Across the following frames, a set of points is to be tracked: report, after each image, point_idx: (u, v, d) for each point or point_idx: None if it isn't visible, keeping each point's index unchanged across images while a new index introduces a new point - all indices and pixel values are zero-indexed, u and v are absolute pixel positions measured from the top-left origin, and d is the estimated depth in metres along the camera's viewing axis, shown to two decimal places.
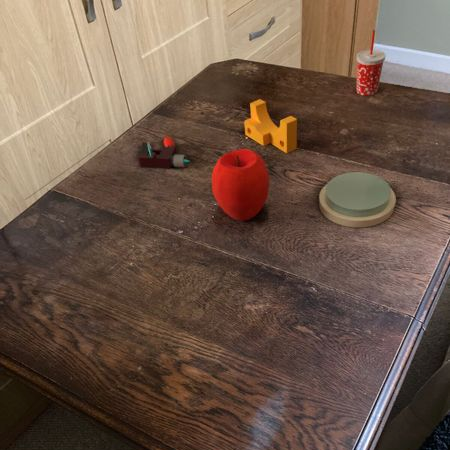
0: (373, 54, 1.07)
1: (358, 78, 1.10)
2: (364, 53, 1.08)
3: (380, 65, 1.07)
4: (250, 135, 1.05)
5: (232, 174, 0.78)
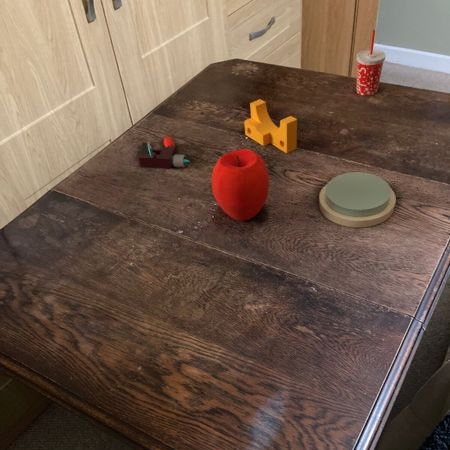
0: (373, 54, 1.07)
1: (358, 78, 1.10)
2: (364, 53, 1.08)
3: (380, 65, 1.07)
4: (250, 135, 1.05)
5: (232, 174, 0.78)
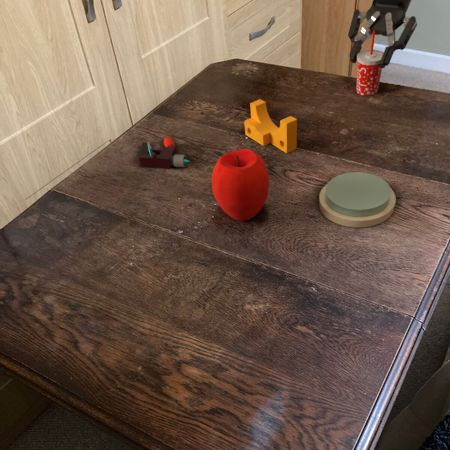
0: (373, 54, 1.07)
1: (358, 78, 1.10)
2: (364, 53, 1.08)
3: None
4: (250, 135, 1.05)
5: (232, 174, 0.78)
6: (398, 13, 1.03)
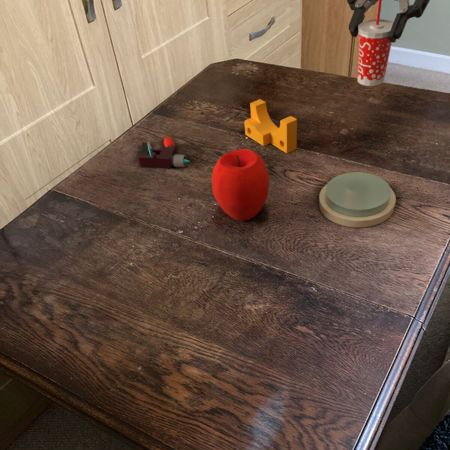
0: (380, 24, 0.81)
1: (360, 57, 0.84)
2: (368, 23, 0.83)
3: None
4: (250, 135, 1.05)
5: (232, 174, 0.78)
6: None
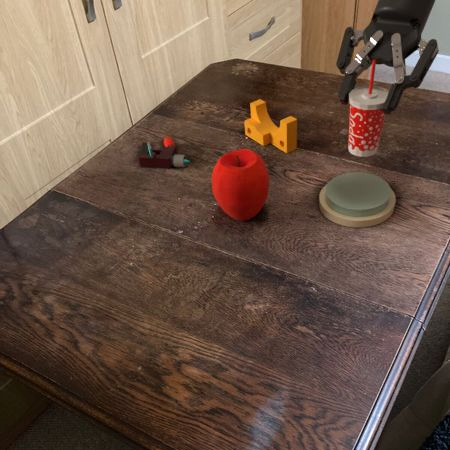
0: (373, 93, 0.72)
1: (351, 126, 0.76)
2: (360, 91, 0.74)
3: None
4: (250, 135, 1.05)
5: (232, 174, 0.78)
6: (411, 34, 0.69)
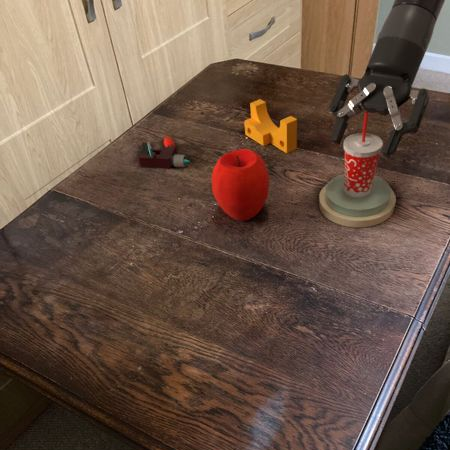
0: (366, 141, 0.78)
1: (346, 170, 0.81)
2: (354, 138, 0.80)
3: (376, 156, 0.78)
4: (250, 135, 1.05)
5: (232, 174, 0.78)
6: (401, 87, 0.74)
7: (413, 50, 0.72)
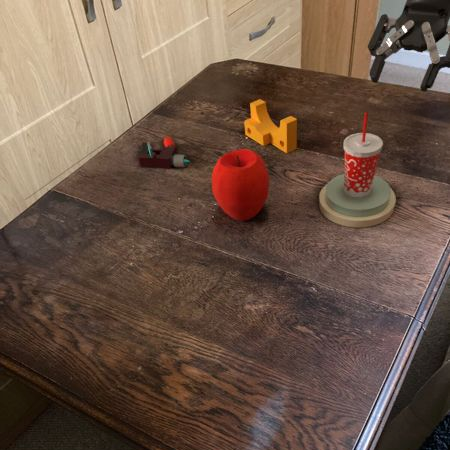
0: (366, 141, 0.78)
1: (346, 170, 0.81)
2: (354, 138, 0.80)
3: (376, 156, 0.78)
4: (250, 135, 1.05)
5: (232, 174, 0.78)
6: (439, 23, 0.79)
7: None
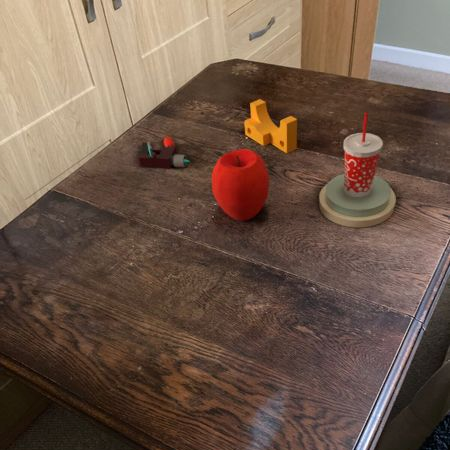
0: (366, 141, 0.78)
1: (346, 170, 0.81)
2: (354, 138, 0.80)
3: (376, 156, 0.78)
4: (250, 135, 1.05)
5: (232, 174, 0.78)
6: None
7: None
